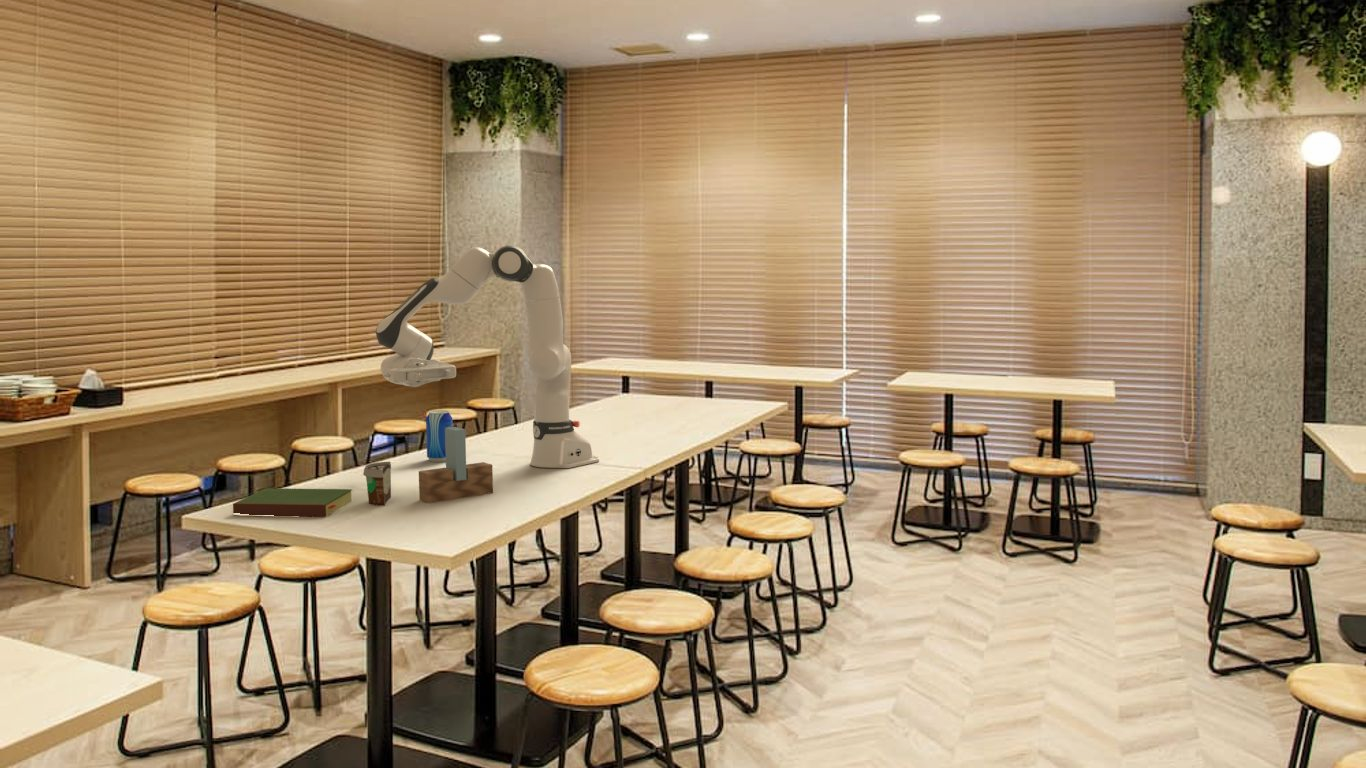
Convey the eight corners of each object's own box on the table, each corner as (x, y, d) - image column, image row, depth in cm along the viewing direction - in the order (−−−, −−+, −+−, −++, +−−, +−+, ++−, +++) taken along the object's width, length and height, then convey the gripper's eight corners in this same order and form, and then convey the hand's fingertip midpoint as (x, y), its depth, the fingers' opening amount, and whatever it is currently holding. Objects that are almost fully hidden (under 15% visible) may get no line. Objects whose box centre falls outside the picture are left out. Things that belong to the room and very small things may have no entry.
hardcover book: (233, 518, 277) (232, 503, 277) (266, 501, 296) (265, 488, 295) (328, 519, 276) (327, 504, 275) (355, 502, 294) (354, 489, 294)
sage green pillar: (455, 476, 302) (454, 426, 301) (466, 479, 298) (465, 429, 296) (446, 477, 300) (444, 427, 299) (456, 480, 296) (455, 430, 294)
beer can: (447, 462, 348) (445, 413, 346) (422, 461, 350) (421, 413, 348) (457, 458, 356) (456, 410, 355) (433, 457, 358) (432, 409, 356)
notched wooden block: (484, 489, 308) (483, 462, 307) (492, 492, 304) (492, 464, 303) (419, 499, 295) (418, 471, 294) (428, 503, 291) (427, 473, 290)
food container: (369, 497, 299) (368, 461, 298) (392, 496, 299) (390, 461, 298) (359, 507, 286) (358, 470, 285) (383, 506, 287) (382, 469, 286)
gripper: (380, 364, 320) (401, 367, 310) (442, 359, 333) (464, 362, 323) (381, 385, 321) (402, 389, 311) (443, 379, 334) (465, 383, 324)
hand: (434, 375), depth 317 cm, fingers open, 8 cm apart
